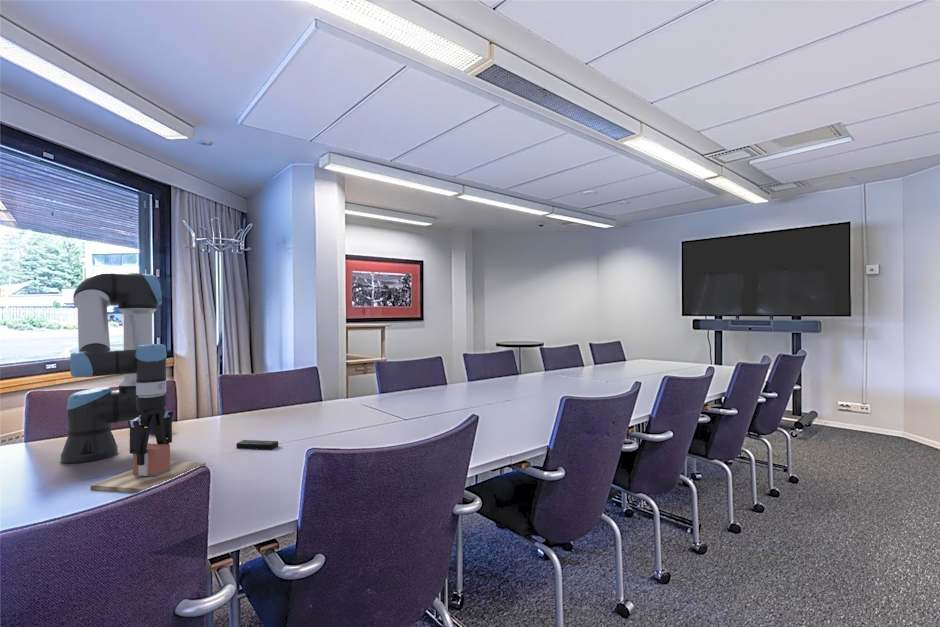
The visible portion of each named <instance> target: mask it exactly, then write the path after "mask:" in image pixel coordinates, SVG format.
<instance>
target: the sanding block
mask: <svg viewBox="0 0 940 627" xmlns="http://www.w3.org/2000/svg"><path fill="white" fill-rule="evenodd" d="M146 453H148V475H147V476H158V475H161V474H163V473H166V472H168V471H170V461H171V444H170V445H168V444H157V443H149V442H148V444H147V449H146ZM132 469H133V475H138V465H137V455H136V454H132Z"/></svg>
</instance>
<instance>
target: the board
mask: <svg viewBox="0 0 940 627" xmlns="http://www.w3.org/2000/svg"><path fill="white" fill-rule="evenodd" d="M206 464H207V463H206V462H203V461H202V462H200V461H186V460H185V461H182V460H181V461H179V460H170V471H168V472H166V473H163V474H161V475H158V476H140V475H133V468H132V469H130V470H127V471H125V472H122V473H119V474H117V475H114V476H112V477H109V478H106V479H103V480H101V481H98V482H95V483H93V484H91V485H90V490H95V491H107V492H120V493H122V492H124V493H137V492H140V491H142V490H145V489H147V488H150V487H152V486H154V485H157V484H160V483H162V482H164V481H167V480H169V479H172V478H174V477H176V476H178V475H180V474H182V473H185V472H187V471H189V470H191V469H193V468H196V467H198V466H202V465H206ZM206 466H207V465H206ZM137 494H138V493H137Z"/></svg>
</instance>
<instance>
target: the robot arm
mask: <svg viewBox="0 0 940 627" xmlns="http://www.w3.org/2000/svg"><path fill="white" fill-rule="evenodd" d="M162 295H163V294H162V289H161V283H160V281H159V279H158V277H157V276H156V275H154V274H149V273H137V272H136V273H133V272H131V273H130V272H129V273H128V272H111V271H106V272H104V271H102V272H99V273H95V274H92V275H91V276H88V277H86V279H83V281H82V282H81V283H80V284H78V285H77V287H76V288H75V290H74V292H73V297H72V298H73V305H74V307H75V308H77V334H78V335H77V337H78V340H77V342H78V343H77V344H78V351H77V352H76V351H75V352H72V353H70V356H69V358H70V376H71V377H72V378H95V377H104V376H114V375H115V376H116V375H117V376H118V375H119V376H121V375H123V380H122V381H121V382H120V383H119V384H118V389H117V390H112V388H111V387H110V386H102V387H94V388H89V389H85V390H79V391H77V392H74V393H72V394H70V395H68V398H67V405H66V406H67V407H66V410H67V429H66V430H67V431H66V432H67V438H66V440H65V444H64V445H63V448H62V451H61V453H60V462H61V463H63V464H80V463H88V462H94V461H99V460H103V459H107V458H109V457H112V456H114V455H116V454H118V452H119V451H118V443H116V440H115V439H116V438H115V437H114V435H113V432H112V424H119V423H126V422H127V424H128V428H129V454H130V455H133V454H136V455H137V465H138V475H140V476H147V475H148V453H146V449H147V444H148V443H149V438H150V435H151V434H150V431H151V430H152V427H153V429H154V433H155V434H154V436H155V441H156V444H168V445H170V446H171V444H172V443H173V416H174V411H172V410H171V411H168V410H166V409H165V407H167V405H168V404H167V402H168V401H167V395H166V393H167V356H168V353H167V347H166V345H165V344H162V343H153V314H154V313H155V312H156V311H157V310H158V306H161V305H162V303H163V299H162V297H163V296H162ZM110 305H111V306H112V305H113V306H115V305H116V306H117V310H118V311H119V312H120V313H121V314H122V315H123V318H122V319H123V323H122V324H123V349H120V350H118V349H117V350H111V344H110V329H109V319H108V316H109V315H108V307H109V306H110Z"/></svg>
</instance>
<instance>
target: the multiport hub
mask: <svg viewBox="0 0 940 627" xmlns="http://www.w3.org/2000/svg"><path fill="white" fill-rule="evenodd" d="M235 446H236V449H245V450H265V451H266V450H268V451H272V450H275V449H277V448H279V441H278V440H277V441H276V440H255V439H242V440H240V441H239V442H236V444H235Z"/></svg>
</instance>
